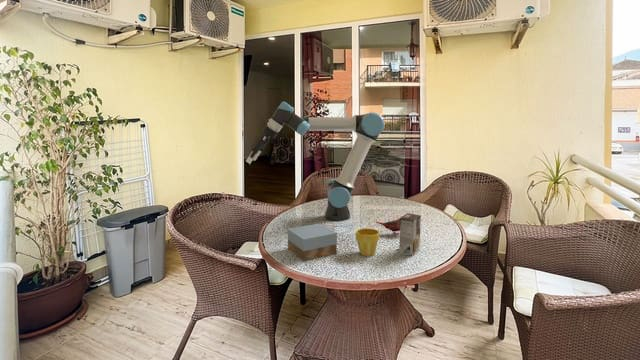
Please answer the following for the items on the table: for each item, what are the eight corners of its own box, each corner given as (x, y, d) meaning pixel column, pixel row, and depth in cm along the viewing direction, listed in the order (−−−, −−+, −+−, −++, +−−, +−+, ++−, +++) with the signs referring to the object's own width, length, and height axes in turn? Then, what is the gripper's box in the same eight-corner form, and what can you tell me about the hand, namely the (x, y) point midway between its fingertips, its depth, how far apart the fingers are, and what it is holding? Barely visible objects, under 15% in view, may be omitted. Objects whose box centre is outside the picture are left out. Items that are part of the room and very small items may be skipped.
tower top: (318, 233, 163) (318, 223, 162) (336, 244, 150) (336, 233, 149) (287, 239, 156) (287, 228, 155) (303, 251, 142) (303, 239, 141)
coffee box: (406, 247, 157) (407, 212, 155) (420, 249, 154) (421, 214, 151) (398, 253, 150) (399, 217, 147) (412, 256, 146) (414, 219, 144)
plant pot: (353, 249, 156) (353, 228, 154) (375, 248, 156) (376, 227, 155) (357, 258, 145) (357, 236, 144) (381, 257, 146) (382, 235, 144)
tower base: (319, 243, 164) (318, 233, 163) (336, 254, 150) (336, 244, 150) (288, 249, 157) (287, 239, 156) (303, 262, 143) (303, 251, 142)
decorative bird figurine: (410, 235, 172) (411, 216, 171) (374, 234, 175) (374, 215, 174) (409, 233, 175) (410, 214, 173) (374, 232, 178) (374, 213, 176)
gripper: (269, 124, 196) (249, 154, 198) (262, 124, 171) (239, 159, 174) (280, 131, 196) (260, 162, 199) (275, 133, 172) (251, 168, 175)
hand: (250, 161), depth 187 cm, fingers open, 13 cm apart
